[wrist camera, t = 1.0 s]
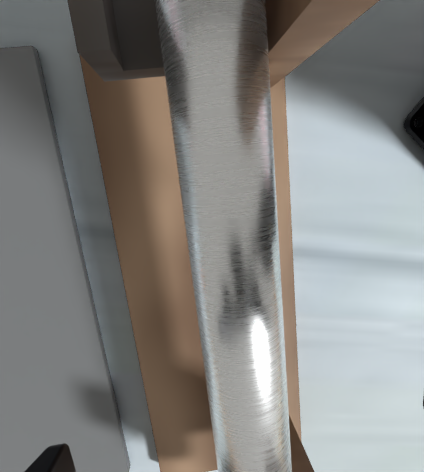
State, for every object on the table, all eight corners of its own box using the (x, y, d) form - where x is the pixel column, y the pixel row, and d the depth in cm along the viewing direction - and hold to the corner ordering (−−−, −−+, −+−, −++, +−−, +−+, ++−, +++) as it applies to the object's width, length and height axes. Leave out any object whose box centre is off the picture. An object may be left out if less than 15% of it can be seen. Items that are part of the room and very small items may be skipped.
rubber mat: (37, 49, 14) (31, 45, 13) (130, 464, 20) (128, 472, 19) (-181, 67, 13) (-195, 63, 12) (-16, 492, 19) (-22, 500, 18)
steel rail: (121, -142, 8) (144, -295, 5) (220, -116, 9) (279, -234, 6) (227, 599, 15) (259, 687, 12) (275, 563, 16) (314, 638, 13)
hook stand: (274, 19, 14) (471, -275, 5) (296, 439, 21) (400, 686, 11) (80, 33, 14) (-154, -276, 4) (163, 464, 20) (148, 752, 10)
